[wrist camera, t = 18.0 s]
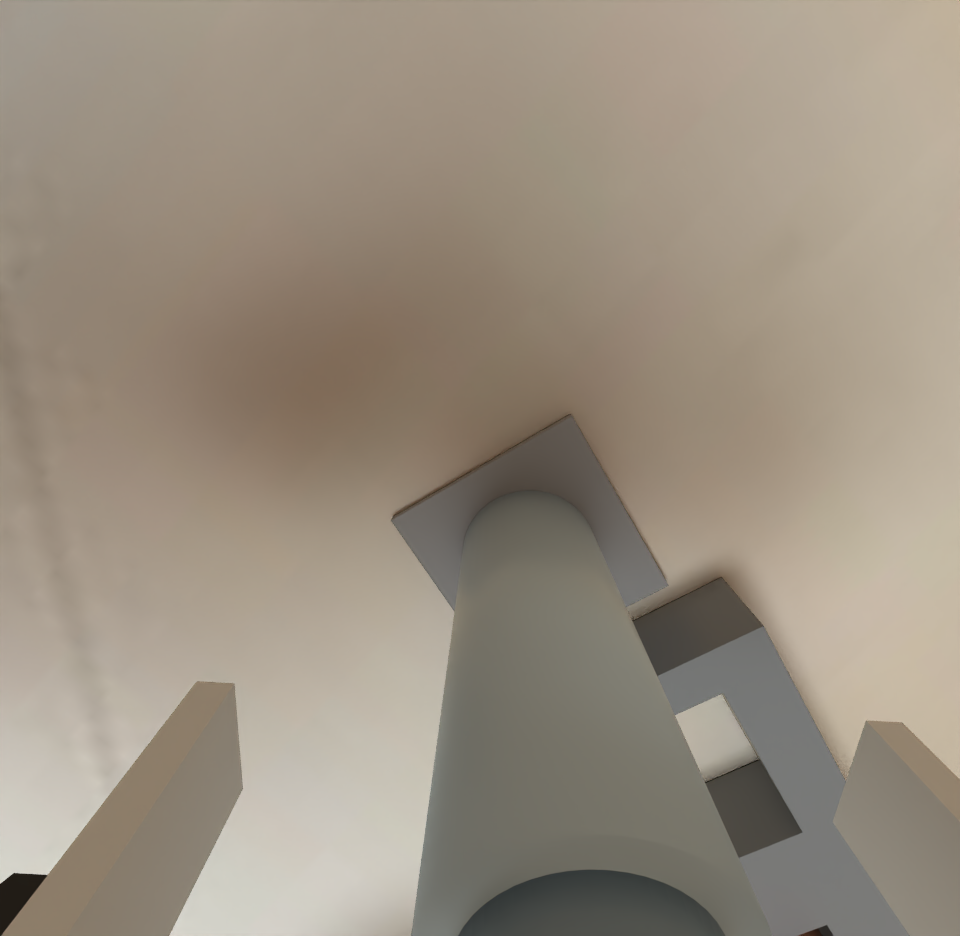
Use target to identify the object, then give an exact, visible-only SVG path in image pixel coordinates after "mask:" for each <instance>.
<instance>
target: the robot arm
mask: <svg viewBox="0 0 960 936" xmlns="http://www.w3.org/2000/svg"><path fill="white" fill-rule="evenodd" d="M242 789H243V785H242V772H241V760H240V748H239V735H238V723H237V711H236V698H235V686H234V684H233V683H216V682H199V681H197V682H196V683H195V685H194V686H193V687H192V688H191V690H190V691H189V692H188V694H187V695H186V696H185V698H184V699H183V700H182V701H181V703H180V704H179V705H178V707H177V708H176V709H175V711H174V712H173V713H172V714H171V716H170V717H169V718H168V720H167V721H166V722H165V724H164V725H163V726H162V727H161V729H160V730H159V731H158V733H157V734H156V735H155V737H154V738H153V739H152V740H151V742H150V743H149V744H148V746H147V747H146V748H145V750H144V751H143V752H142V753H141V755H140V756H139V757H138V759H137V760H136V761H135V763H134V764H133V765H132V766H131V768H130V769H129V770H128V772H127V773H126V774H125V776H124V777H123V778H122V779H121V781H120V782H119V783H118V785H117V786H116V787H115V789H114V790H113V791H112V792H111V794H110V795H109V796H108V798H107V799H106V800H105V801H104V803H103V804H102V805H101V807H100V808H99V809H98V811H97V812H96V813H95V814H94V816H93V817H92V818H91V820H90V821H89V822H88V824H87V825H86V826H85V827H84V829H83V830H82V831H81V833H80V834H79V835H78V837H77V838H76V839H75V840H74V842H73V843H72V844H71V846H70V847H69V848H68V850H67V851H66V852H65V853H64V855H63V856H62V857H61V859H60V860H59V861H58V863H57V864H56V865H55V866H54V868H53V869H52V870H51V872H50V873H49V874H48V875H37V874H19V873H14V874H12V875H11V876H10V877H8V878H7V879H6V880H5V881H3V882H2V883H1V884H0V936H169V935H170V933H171V931H172V929H173V927H174V925H175V923H176V921H177V919H178V917H179V915H180V913H181V911H182V909H183V907H184V905H185V903H186V901H187V899H188V897H189V895H190V893H191V891H192V889H193V887H194V885H195V883H196V881H197V879H198V877H199V875H200V873H201V871H202V869H203V867H204V865H205V863H206V861H207V859H208V857H209V855H210V853H211V851H212V849H213V847H214V845H215V843H216V841H217V839H218V837H219V835H220V833H221V831H222V829H223V827H224V825H225V823H226V821H227V819H228V817H229V815H230V813H231V811H232V809H233V807H234V805H235V803H236V801H237V799H238V797H239V795H240V793H241V791H242ZM833 823H834V825H835V826H836V828H837V829H838V831H839V832H840V834H841V835H842V837H843V838H844V840H845V841H846V842H847V844H848V845H849V847H850V848H851V850H852V851H853V853H854V854H855V856H856V857H857V859H858V860H859V862H860V863H861V865H862V866H863V868H864V869H865V870H866V872H867V873H868V875H869V876H870V878H871V879H872V881H873V882H874V884H875V885H876V887H877V888H878V890H879V891H880V893H881V894H882V896H883V897H884V899H885V900H886V901H887V903H888V904H889V906H890V907H891V909H892V910H893V912H894V913H895V915H896V916H897V918H898V919H899V921H900V922H901V924H902V925H903V927H904V928H905V929H906V931H907V932H908V934H909V935H910V936H960V779H959V778H958V777H957V776H956V775H955V774H954V773H953V772H952V771H951V770H950V769H949V768H948V767H947V766H946V765H945V764H944V763H943V762H942V761H941V760H940V759H938V758H937V757H936V756H935V755H934V754H933V753H932V752H931V751H930V750H929V749H928V748H927V747H926V746H925V745H924V744H923V743H922V742H921V741H920V740H919V739H918V738H917V737H916V736H915V735H914V734H913V733H912V732H911V731H910V730H909V729H908V728H907V727H906V726H905V725H904V724H903V723H899V722H882V721H866V722H865V725H864V728H863V731H862V734H861V737H860V740H859V743H858V747H857V750H856V753H855V756H854V759H853V762H852V765H851V768H850V771H849V774H848V777H847V780H846V783H845V786H844V789H843V792H842V795H841V798H840V801H839V804H838V807H837V810H836V813H835V816H834V819H833Z"/></svg>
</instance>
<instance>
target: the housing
mask: <svg viewBox="0 0 960 936" xmlns="http://www.w3.org/2000/svg"><path fill="white" fill-rule="evenodd" d="M633 623H634V626H635V628H636V630H637V632H638V635H639V637H640V639H641V641H642V644H643V646H644V648H645V650H646V652H647V655H648V657H649V659H650V661H651V664H652V666H653V668H654V670H655V672H656V675H657V677H658V679H659V681H660V684H661V686H662V688H663V690H664V693H665V695H666V697H667V699H668V701H669V704H670V706H671V708H672V710H673V713H674V715H676V714H678V713H680V712H683V711H685V710H687V709H689V708H691V707H694V706H696V705H698V704H700V703H702V702H705V701H707V700H709V699H711V698H713V697H716V696H718V695H720V694H722V695H723V697H724V699H725V700H726V702H727V704H728V706H729V707H730V709H731V711H732V713H733V714H734V716H735V718H736V720H737V721H738V723H739V725H740V727H741V728H742V730H743V732H744V734H745V735H746V737H747V739H748V740H749V742H750V744H751V746H752V747H753V749H754V751H755V753H756V754H757V756H758V758H759V760H758V761H756V762H754V763H751V764H749V765H747V766H744V767H742V768H740V769H737V770H735V771H733V772H730V773H728V774H726V775H723V776H721V777H719V778H716V779H714V780H712V781H709V782H707V783H705V784H706V786H707V788H708V791H709V793H710V795H711V797H712V799H713V802H714V804H715V806H716V808H717V811H718V813H719V815H720V817H721V819H722V822H723V824H724V826H725V828H726V831H727V833H728V835H729V837H730V840H731V842H732V844H733V846H734V848H735V851H736V853H737V855H738V857H739V860H740V862H741V864H742V866H743V868H744V871H745V873H746V875H747V877H748V880H749V882H750V884H751V886H752V889H753V891H754V893H755V895H756V897H757V900H758V902H759V904H760V906H761V909H762V911H763V913H764V915H765V917H766V920H767V922H768V925H769V928H770V930H771V933H772V936H798V935H801V934H803V933H806V932H809V931H812V930H814V929H817V928H818V929H819V931H820V933H821V935H822V936H910V935H909V934H908V932H907V931H906V929H905V928H904V927H903V925H902V924H901V922H900V921H899V919H898V918H897V916H896V915H895V913H894V912H893V910H892V909H891V907H890V906H889V904H888V903H887V901H886V900H885V899H884V897H883V896H882V894H881V893H880V891H879V890H878V888H877V887H876V885H875V884H874V882H873V881H872V879H871V878H870V876H869V875H868V873H867V872H866V870H865V869H864V868H863V866H862V865H861V863H860V862H859V860H858V859H857V857H856V856H855V854H854V853H853V851H852V850H851V848H850V847H849V845H848V844H847V842H846V841H845V840H844V838H843V837H842V835H841V834H840V832H839V831H838V829H837V828H836V826H835V825H834V823H833V819H834V816H835V813H836V810H837V807H838V804H839V801H840V798H841V795H842V792H843V789H844V786H845V783H846V781H845V779H844V777H843V775H842V774H841V772H840V770H839V768H838V766H837V764H836V762H835V760H834V758H833V757H832V755H831V753H830V751H829V749H828V747H827V745H826V743H825V741H824V739H823V738H822V736H821V734H820V732H819V730H818V728H817V726H816V724H815V722H814V721H813V719H812V717H811V715H810V713H809V711H808V709H807V707H806V705H805V704H804V702H803V700H802V698H801V696H800V694H799V692H798V690H797V688H796V687H795V685H794V683H793V681H792V679H791V677H790V675H789V673H788V671H787V670H786V668H785V666H784V664H783V662H782V660H781V658H780V656H779V654H778V653H777V651H776V649H775V647H774V645H773V643H772V641H771V639H770V637H769V636H768V634H767V632H766V630H765V628H764V626H763V625H762V624H761V623H760V621H759V620H758V619H757V618H756V617H755V616H754V614H753V613H752V612H751V611H750V610H749V609H748V607H747V606H746V605H745V604H744V603H743V602H742V600H741V599H740V598H739V597H738V596H737V595H736V594H735V592H734V591H733V590H732V589H731V588H730V587H729V585H728V584H727V583H726V582H725V581H724V580H723V578H722V577H721V578H719V579H717V580H715V581H713V582H711V583H709V584H707V585H705V586H703V587H701V588H699V589H697V590H695V591H693V592H691V593H689V594H687V595H685V596H683V597H681V598H679V599H677V600H675V601H673V602H671V603H669V604H667V605H665V606H663V607H661V608H659V609H657V610H655V611H653V612H651V613H649V614H647V615H645V616H643V617H641V618H638V619H636V620H634V621H633Z"/></svg>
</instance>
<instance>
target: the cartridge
mask: <svg viewBox="0 0 960 936" xmlns="http://www.w3.org/2000/svg"><path fill="white" fill-rule="evenodd" d="M411 936H772V933H771V930H770V928H769V925H768V922H767V920H766V917H765V915H764V913H763V911H762V909H761V906H760V904H759V902H758V900H757V897H756V895H755V893H754V891H753V889H752V886H751V884H750V882H749V880H748V877H747V875H746V873H745V871H744V868H743V866H742V864H741V862H740V860H739V857H738V855H737V853H736V851H735V848H734V846H733V844H732V842H731V840H730V837H729V835H728V833H727V831H726V828H725V826H724V824H723V822H722V819H721V817H720V815H719V813H718V811H717V808H716V806H715V804H714V802H713V799H712V797H711V795H710V793H709V791H708V788H707V786H706V784H705V782H704V779H703V777H702V775H701V773H700V770H699V768H698V766H697V764H696V762H695V759H694V757H693V755H692V753H691V750H690V748H689V746H688V744H687V742H686V739H685V737H684V735H683V733H682V730H681V728H680V726H679V724H678V721H677V719H676V717H675V715H674V713H673V710H672V708H671V706H670V704H669V701H668V699H667V697H666V695H665V693H664V690H663V688H662V686H661V684H660V681H659V679H658V677H657V675H656V672H655V670H654V668H653V666H652V664H651V661H650V659H649V657H648V655H647V652H646V650H645V648H644V646H643V644H642V641H641V639H640V637H639V635H638V632H637V630H636V628H635V626H634V623H633V621H632V619H631V617H630V615H629V612H628V610H627V608H626V606H625V603H624V601H623V599H622V597H621V595H620V592H619V590H618V588H617V586H616V583H615V581H614V579H613V577H612V574H611V572H610V570H609V568H608V566H607V563H606V561H605V559H604V557H603V554H602V552H601V550H600V548H599V546H598V543H597V541H596V539H595V537H594V534H593V532H592V530H591V528H590V526H589V524H588V522H587V520H586V519H585V517H584V516H583V515H582V513H581V512H580V511H579V510H578V509H577V508H576V507H575V506H573V505H572V504H571V503H569V502H568V501H566V500H565V499H563V498H561V497H559V496H556V495H554V494H551V493H547V492H542V491H532V490H526V491H517V492H513V493H509V494H506V495H504V496H501V497H499V498H497V499H495V500H493V501H492V502H490V503H489V504H487V505H486V506H485V507H484V508H483V509H482V510H481V511H479V513H478V514H477V515H476V516H475V517H474V519H473V520H472V522H471V524H470V525H469V528H468V530H467V532H466V535H465V539H464V545H463V552H462V560H461V567H460V575H459V582H458V590H457V597H456V605H455V612H454V620H453V627H452V635H451V642H450V650H449V657H448V665H447V672H446V680H445V687H444V695H443V702H442V710H441V717H440V725H439V732H438V740H437V747H436V755H435V762H434V770H433V777H432V785H431V792H430V800H429V807H428V814H427V822H426V829H425V837H424V844H423V852H422V859H421V867H420V874H419V882H418V889H417V897H416V904H415V912H414V919H413V927H412V934H411Z"/></svg>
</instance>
